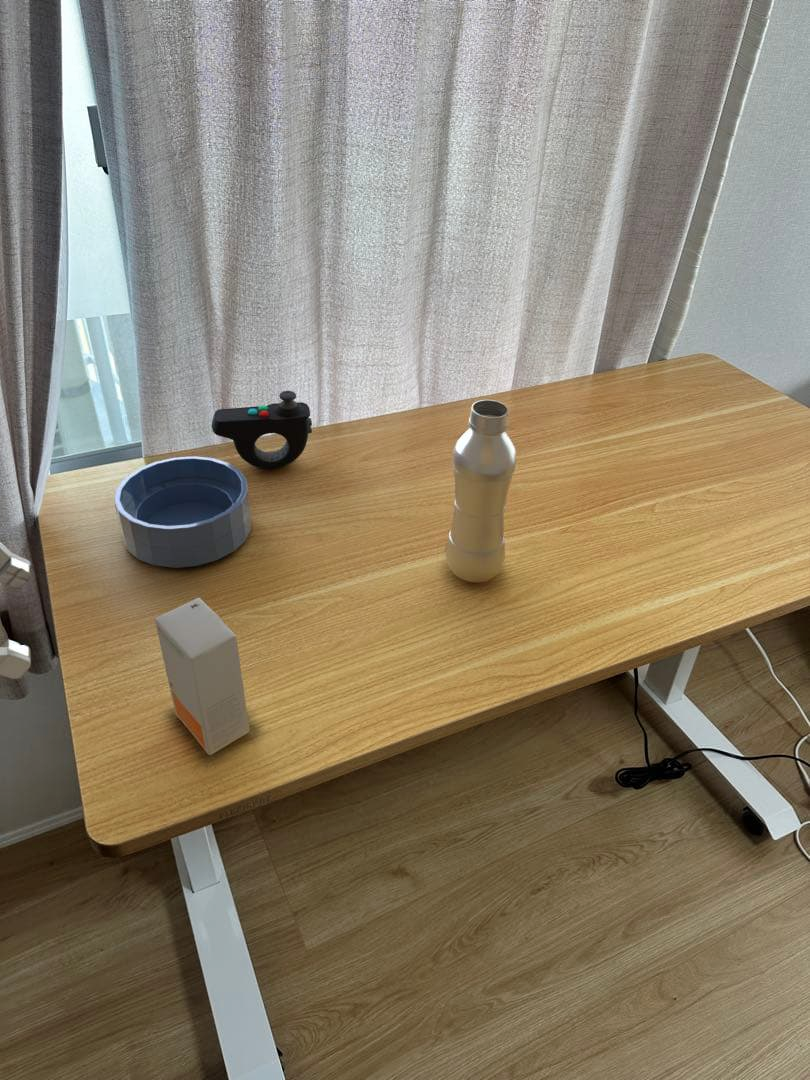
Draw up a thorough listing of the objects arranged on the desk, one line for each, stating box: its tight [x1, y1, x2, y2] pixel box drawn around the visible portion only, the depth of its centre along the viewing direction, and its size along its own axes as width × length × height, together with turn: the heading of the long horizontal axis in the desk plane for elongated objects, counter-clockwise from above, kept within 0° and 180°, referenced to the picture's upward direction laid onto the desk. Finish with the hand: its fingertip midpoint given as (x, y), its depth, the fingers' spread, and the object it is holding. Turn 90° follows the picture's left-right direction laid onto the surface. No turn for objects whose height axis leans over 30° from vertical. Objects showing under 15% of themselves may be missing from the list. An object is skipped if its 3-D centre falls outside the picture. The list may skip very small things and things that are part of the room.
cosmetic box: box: [154, 597, 250, 756], centre depth 67 cm, size 6×4×12 cm
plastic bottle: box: [444, 399, 518, 583], centre depth 83 cm, size 6×7×20 cm
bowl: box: [113, 455, 252, 569], centre depth 91 cm, size 14×14×6 cm
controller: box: [211, 390, 313, 470], centre depth 101 cm, size 4×12×10 cm, turn 102°
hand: (26, 617), depth 57 cm, fingers open, 8 cm apart
